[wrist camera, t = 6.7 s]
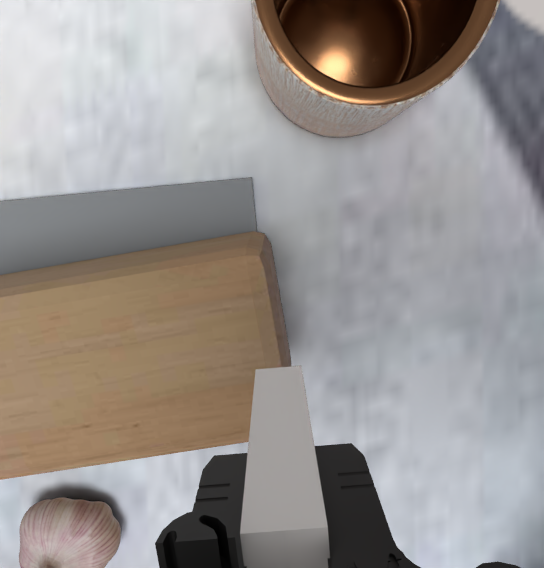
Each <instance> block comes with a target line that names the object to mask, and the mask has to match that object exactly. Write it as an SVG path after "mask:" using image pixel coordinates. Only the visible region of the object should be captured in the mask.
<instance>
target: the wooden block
mask: <svg viewBox="0 0 544 568" xmlns="http://www.w3.org/2000/svg"><path fill="white" fill-rule="evenodd" d="M279 367H291V357H290V350H289V345H288V339H287V333H286V327H285V321H284V316H283V310H282V304H281V298H280V293H279V287H278V281H277V275H276V270H275V264H274V258H273V252H272V246H271V243H270V241H269V240H268V238H267V236H266V235H265V234H264V233H259V232H255V231H252V232H246V233H241V234H235V235H229V236H223V237H217V238H212V239H206V240H200V241H194V242H189V243H183V244H177V245H171V246H165V247H160V248H154V249H148V250H142V251H137V252H131V253H125V254H119V255H113V256H108V257H102V258H96V259H90V260H85V261H79V262H73V263H67V264H62V265H56V266H50V267H44V268H38V269H33V270H27V271H21V272H15V273H10V274H4V275H0V480H1V479H8V478H14V477H21V476H27V475H34V474H41V473H47V472H54V471H60V470H67V469H73V468H80V467H86V466H93V465H100V464H106V463H113V462H119V461H126V460H132V459H139V458H145V457H152V456H158V455H165V454H172V453H178V452H185V451H191V450H198V449H204V448H211V447H217V446H224V445H230V444H237V443H244V442H249V433H250V423H251V412H252V402H253V391H254V381H255V370H256V369H267V368H279Z"/></svg>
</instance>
